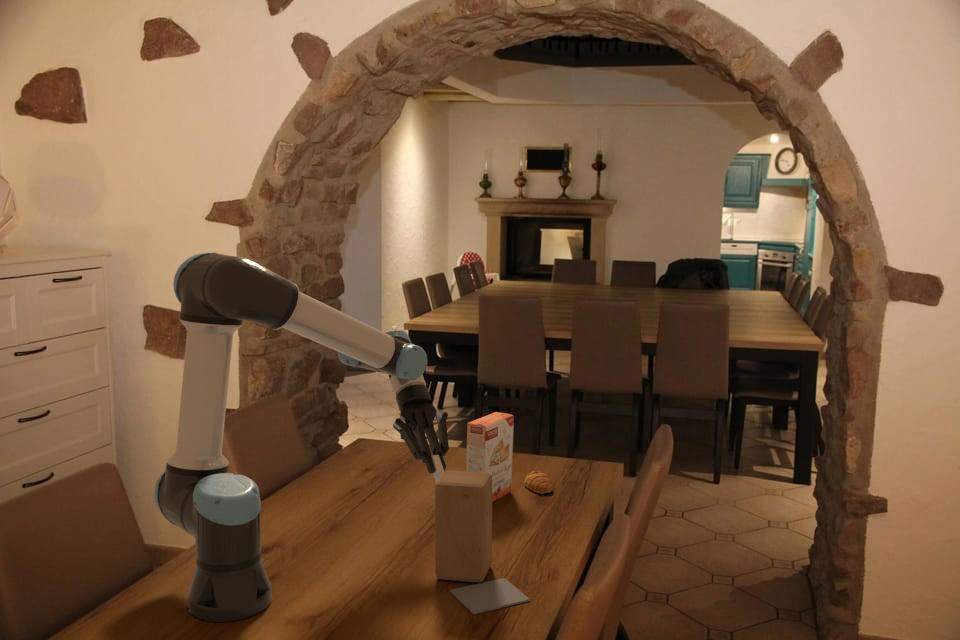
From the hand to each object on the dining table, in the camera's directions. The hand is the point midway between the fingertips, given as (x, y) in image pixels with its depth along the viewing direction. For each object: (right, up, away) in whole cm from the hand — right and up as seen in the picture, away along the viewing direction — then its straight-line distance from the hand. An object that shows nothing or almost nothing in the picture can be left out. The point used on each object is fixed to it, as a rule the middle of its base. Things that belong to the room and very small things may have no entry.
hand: (442, 484), depth 181 cm
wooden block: (+5, -17, -8) cm, 19 cm away
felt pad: (+10, -18, -17) cm, 27 cm away
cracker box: (+10, -10, +35) cm, 38 cm away
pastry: (+24, -10, +43) cm, 50 cm away
